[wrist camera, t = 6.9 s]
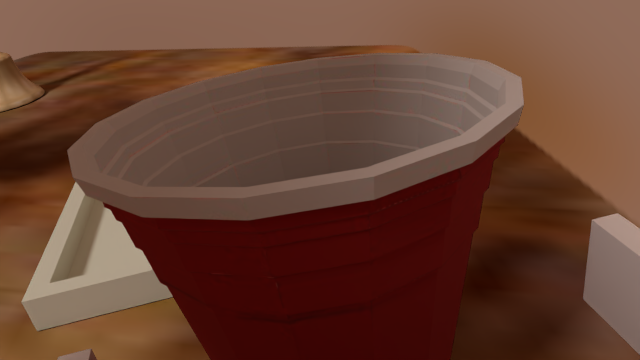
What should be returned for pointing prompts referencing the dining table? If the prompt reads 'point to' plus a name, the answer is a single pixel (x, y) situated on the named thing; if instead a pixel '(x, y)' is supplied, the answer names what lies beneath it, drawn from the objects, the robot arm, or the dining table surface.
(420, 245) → the plastic cup
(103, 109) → the dining table surface
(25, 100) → the hand bell
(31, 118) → the dining table surface
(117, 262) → the tray
